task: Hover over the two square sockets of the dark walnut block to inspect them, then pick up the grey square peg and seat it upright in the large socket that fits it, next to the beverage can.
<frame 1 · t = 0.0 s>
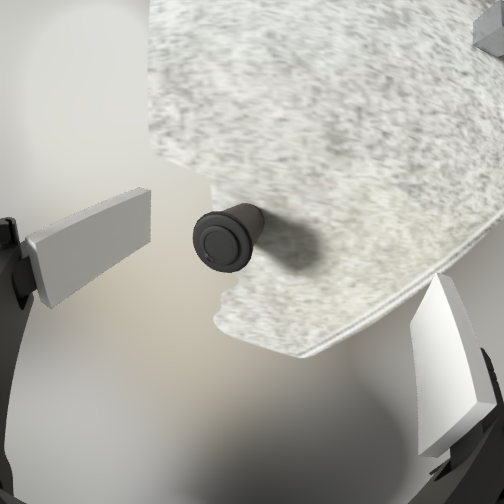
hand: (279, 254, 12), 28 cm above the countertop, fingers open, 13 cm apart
coffee cup: (247, 220, 44), on the countertop
grey square peg: (485, 39, 20), on the countertop
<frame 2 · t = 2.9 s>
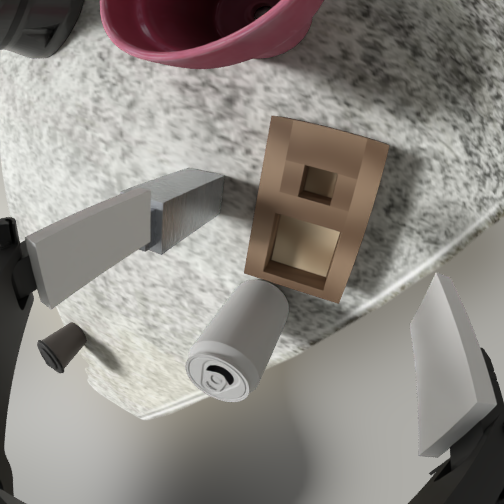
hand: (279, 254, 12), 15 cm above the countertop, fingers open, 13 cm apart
coffee cup: (78, 332, 52), on the countertop
grey square peg: (204, 190, 29), on the countertop
socket block: (316, 204, 26), on the countertop
plant pot: (262, 17, 20), on the countertop
beverage can: (262, 300, 32), on the countertop
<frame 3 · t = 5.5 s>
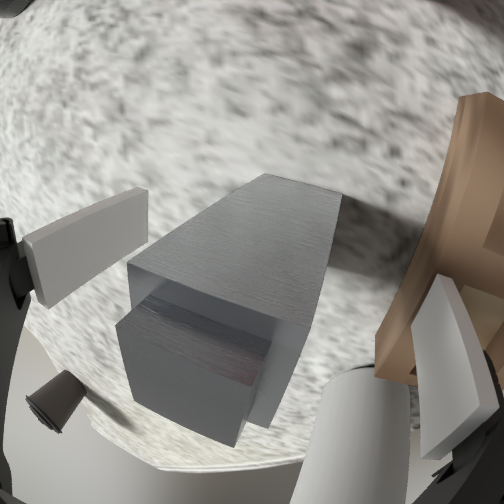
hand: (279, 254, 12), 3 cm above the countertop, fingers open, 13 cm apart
coffee cup: (75, 381, 39), on the countertop
grey square peg: (294, 220, 15), on the countertop
socket block: (489, 256, 12), on the countertop
beverage can: (366, 387, 18), on the countertop
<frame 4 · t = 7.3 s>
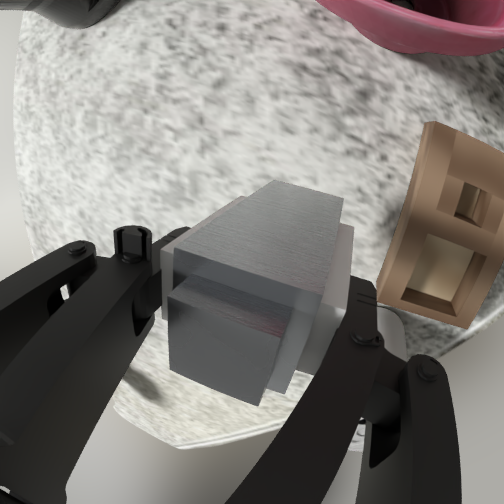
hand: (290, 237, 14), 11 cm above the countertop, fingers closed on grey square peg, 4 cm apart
grey square peg: (301, 221, 17), point 7 cm above the countertop, touching gripper
socket block: (450, 223, 20), on the countertop
plant pot: (396, 8, 15), on the countertop
beverage can: (372, 329, 26), on the countertop
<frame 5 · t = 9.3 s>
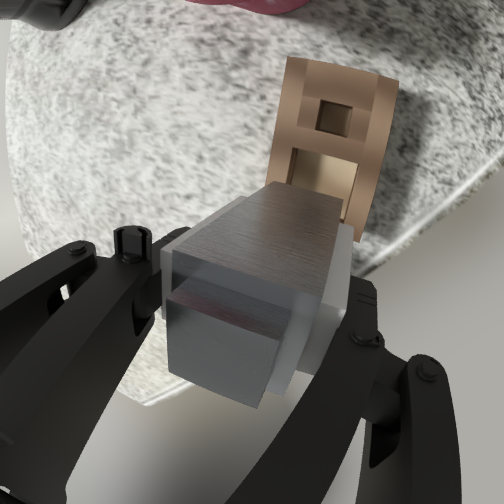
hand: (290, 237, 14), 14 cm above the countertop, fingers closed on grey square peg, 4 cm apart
grey square peg: (300, 222, 17), point 11 cm above the countertop, touching gripper
socket block: (331, 145, 25), on the countertop
when the fingers open (4 cm above the countertop, at t = 11.6 s): grey square peg stays where it is, resting on socket block.
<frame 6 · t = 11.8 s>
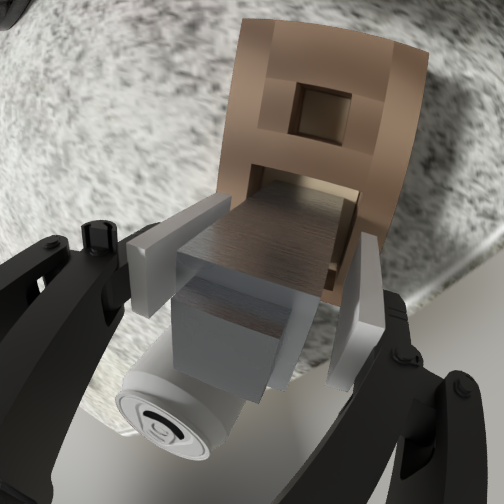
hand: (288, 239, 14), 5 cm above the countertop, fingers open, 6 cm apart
grey square peg: (301, 221, 17), point 1 cm above the countertop, touching socket block
socket block: (318, 157, 16), on the countertop
beverage can: (243, 306, 23), on the countertop
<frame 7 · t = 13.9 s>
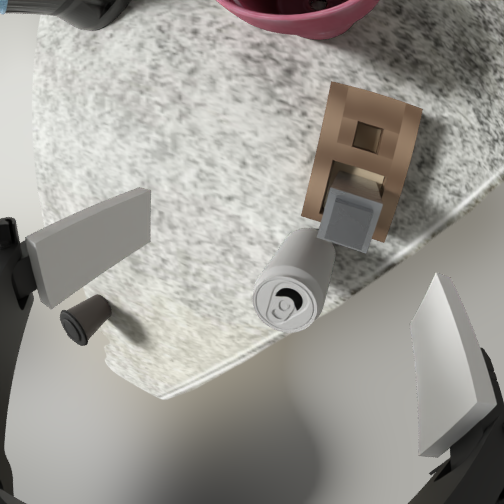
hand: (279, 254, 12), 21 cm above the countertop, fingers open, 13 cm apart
coffee cup: (103, 305, 55), on the countertop
grey square peg: (352, 193, 29), point 1 cm above the countertop, touching socket block
socket block: (361, 159, 28), on the countertop
plant pot: (316, 7, 23), on the countertop
beverage can: (309, 250, 35), on the countertop
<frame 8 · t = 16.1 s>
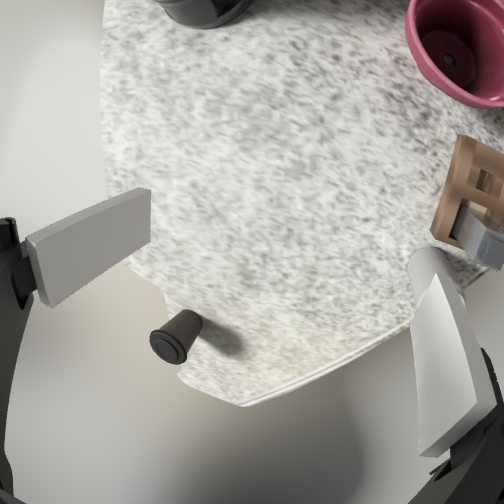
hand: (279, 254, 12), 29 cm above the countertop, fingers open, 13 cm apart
coffee cup: (191, 319, 58), on the countertop
grey square peg: (465, 221, 32), point 1 cm above the countertop, touching socket block
socket block: (471, 194, 31), on the countertop
plant pot: (444, 61, 25), on the countertop
beverage can: (426, 264, 37), on the countertop
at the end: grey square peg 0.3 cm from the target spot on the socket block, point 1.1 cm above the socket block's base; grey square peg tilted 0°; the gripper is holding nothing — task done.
